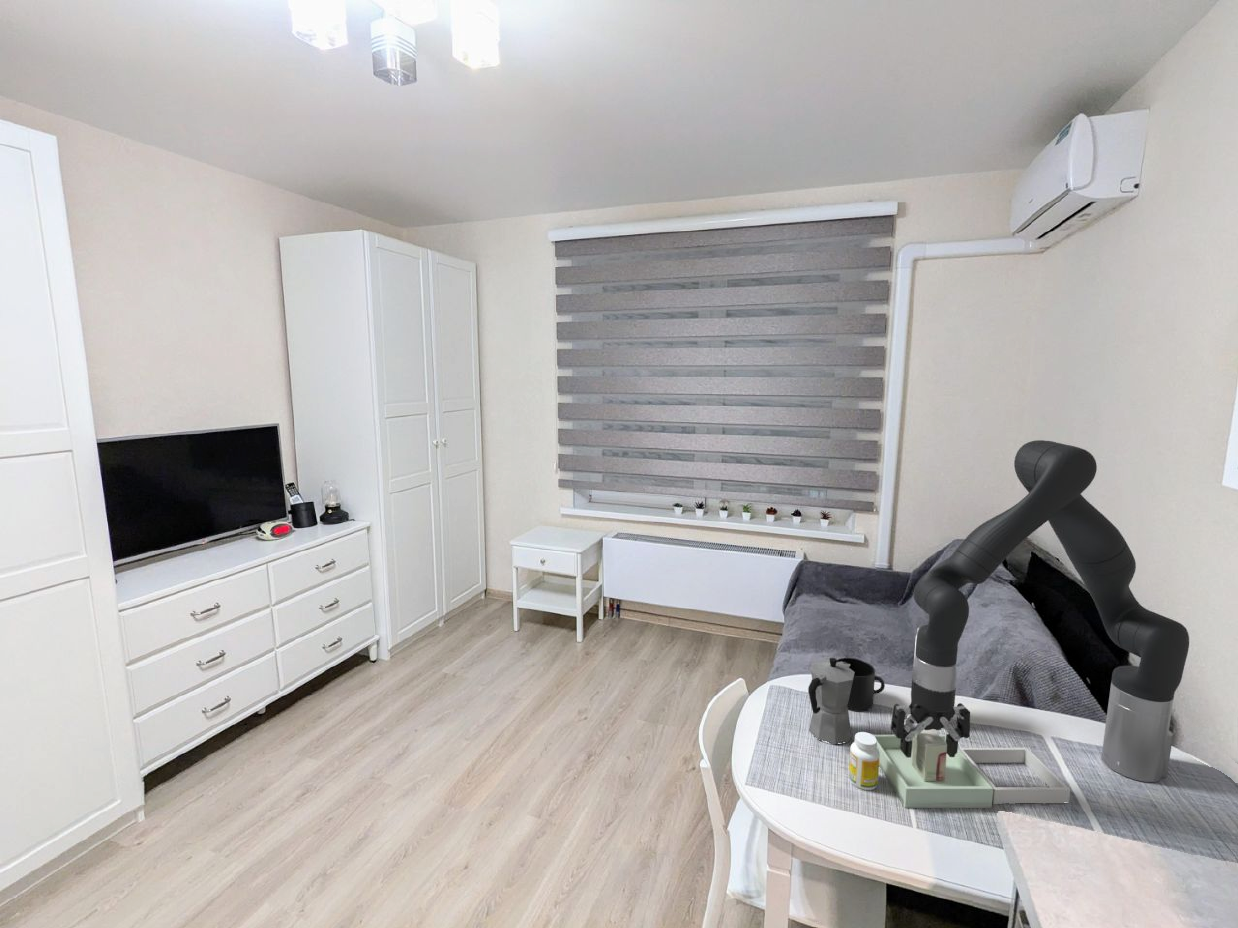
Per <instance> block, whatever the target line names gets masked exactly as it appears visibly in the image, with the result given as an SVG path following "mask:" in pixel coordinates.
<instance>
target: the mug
mask: <svg viewBox="0 0 1238 928" xmlns="http://www.w3.org/2000/svg"><path fill="white" fill-rule="evenodd" d="M837 662H846V663H848V664H851V665H850V667H849V668H850V669H851V670H853V671H854V672H855V673H854V678H853V683H852V687H851V692H850V696H849V701H848V704H847V707H848V711H853V712H854V711H855V712H864V711H868V710H870V709H872V707H873V705H874V696H875V695H877V694H880V693H882V692H883V691H884V690H885V685H886V683H885V681H884V679H883V678H881V677H880V676H877V675H876V671H875V670H876V669H875V668H874V666H873V665H872V664H871V663H869V662H867V661H865V660H862V659H859V658H853V657H843V658H842V657H841V658H838V659H837ZM837 662H836V663H837ZM875 681H878V682H879V683H880V688H878V689H875Z"/></svg>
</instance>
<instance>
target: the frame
mask: <svg viewBox="0 0 1238 928" xmlns="http://www.w3.org/2000/svg"><path fill="white" fill-rule="evenodd" d="M958 749H959V750H960V751H961V752H962V753H963V755H964V756H965V757H966V758H967V759H968V760H969V761H970V763H971V764H972V765H973V766H974V767H975V768H976V769H977V771H978V772H979V773H980V774H981V775H982V776H983V777H984V779H985V780H986V781H987V782H988V783H989V784H990V785H991V787H992V788H993V797H992V805H1003V804H1002V803H1009V804H1008V805H1014V804H1015V803H1064V802H1069V803H1070V795H1071V788H1070V787H1068V786H1067V785H1066V783H1064V781H1062V780H1061V778H1059V777H1058V776H1057V775H1056V774H1055V773H1053V771H1052V770H1051V769H1050V768H1049V767H1048V766H1046V764H1045V763H1043V762H1042V761H1041V760H1040V759H1039V758H1038V757H1037V756H1036V755H1035V754H1034V753H1032V751H1030V749H1028V748H1027V747H958ZM991 763H992V764H996V763H997V764H998V763H999V764H1001V763H1002V764H1004V763H1005V764H1006V763H1007V764H1009V763H1010V764H1011V763H1012V764H1013V763H1014V764H1017V763H1018V764H1023V763H1024V764H1025V765H1026V767H1028V768H1029V770H1031V772H1032V773H1034V774H1035V775H1036V776H1037V777H1038V778H1039V779H1040V780H1041V782H1042V783H1044V784H1045V783H1046V784H1047V785H1046V784H1045V785H1046V786H1039V787H1036V786H1034V787H1033V786H1021V787H1019V786H1018V787H1017V786H1012V787H1011V786H1009V787H1008V786H1005V787H1004V786H1003V787H1002V786H999V787H997V786H996V785H994V783H993V782H992V781H991V779H989V778H988V776H987V775H986V774H985V773H984V772H983V771H982V769H980V767H979V766H978V765H977V764H991ZM1048 786H1049V787H1048ZM998 803H999V804H998ZM1015 805H1016V804H1015Z"/></svg>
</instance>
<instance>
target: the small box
mask: <svg viewBox="0 0 1238 928" xmlns="http://www.w3.org/2000/svg"><path fill="white" fill-rule="evenodd" d="M939 735H940V734H938V733H937V732H936V730H935V729H931V730H924V729H923V730H922V732H921V733H920V734H916V735H915V736H914V737H913V747H912V762H911V765H912V766H913V768H914V769H915V770H916V771H917V773H918V774H919V775H920V776H921V778H922V779H923V780H924V781H938V780H945V768H946V753H947V744H946V743H945V741H944V740H943V739H942V738H941V737H940V736H939Z"/></svg>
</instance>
